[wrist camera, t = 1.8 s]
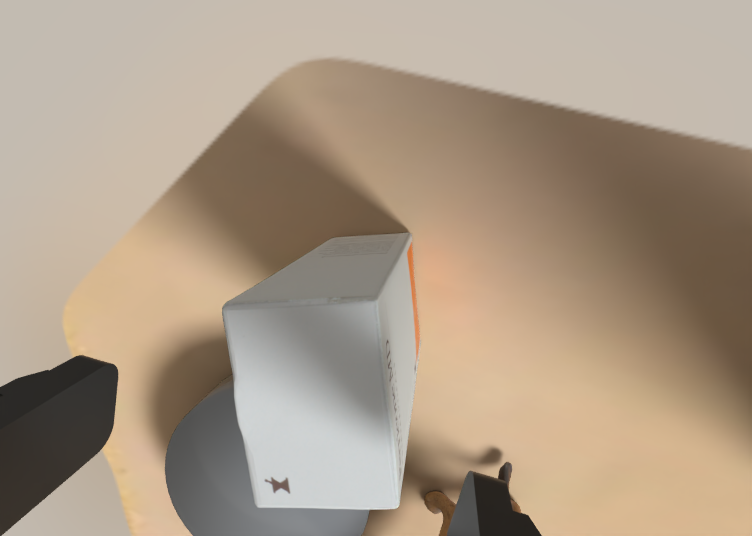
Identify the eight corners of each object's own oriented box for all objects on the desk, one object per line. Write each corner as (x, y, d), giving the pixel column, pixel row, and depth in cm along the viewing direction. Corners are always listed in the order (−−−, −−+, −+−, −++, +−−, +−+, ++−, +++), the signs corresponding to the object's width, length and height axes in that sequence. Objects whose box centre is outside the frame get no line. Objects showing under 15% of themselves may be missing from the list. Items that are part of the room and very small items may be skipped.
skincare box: (423, 343, 23) (402, 519, 12) (343, 346, 24) (248, 515, 13) (414, 227, 22) (380, 296, 11) (330, 233, 23) (210, 305, 11)
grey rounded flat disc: (399, 397, 24) (392, 428, 21) (355, 557, 27) (344, 604, 24) (208, 341, 25) (177, 364, 22) (185, 501, 28) (154, 540, 25)
